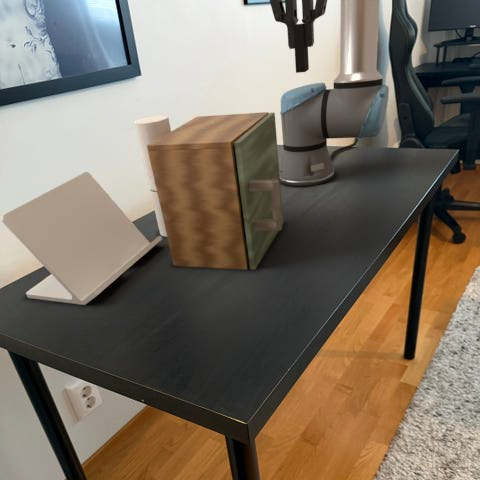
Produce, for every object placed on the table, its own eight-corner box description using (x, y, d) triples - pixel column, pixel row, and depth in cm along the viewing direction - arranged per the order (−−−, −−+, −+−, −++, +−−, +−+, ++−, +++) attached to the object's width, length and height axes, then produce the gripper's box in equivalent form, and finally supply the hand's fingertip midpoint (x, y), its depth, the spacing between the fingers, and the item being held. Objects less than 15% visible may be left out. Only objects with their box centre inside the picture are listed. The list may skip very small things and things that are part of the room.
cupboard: (278, 224, 108) (268, 111, 95) (247, 270, 92) (230, 141, 78) (213, 222, 114) (196, 116, 101) (173, 265, 97) (146, 145, 84)
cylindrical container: (184, 236, 109) (161, 121, 95) (155, 237, 111) (128, 124, 97) (193, 224, 115) (172, 114, 101) (165, 225, 116) (141, 117, 103)
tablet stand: (25, 297, 94) (-11, 216, 84) (99, 242, 112) (77, 171, 103) (100, 306, 87) (70, 219, 77) (166, 246, 106) (148, 170, 96)
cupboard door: (306, 223, 106) (300, 110, 93) (281, 271, 89) (270, 140, 76) (279, 223, 108) (269, 112, 95) (250, 269, 91) (234, 142, 78)
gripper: (346, -131, 65) (346, 63, 78) (256, -110, 69) (270, 71, 82) (337, -141, 59) (338, 71, 72) (239, -117, 63) (257, 78, 76)
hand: (302, 70), depth 77 cm, fingers closed
